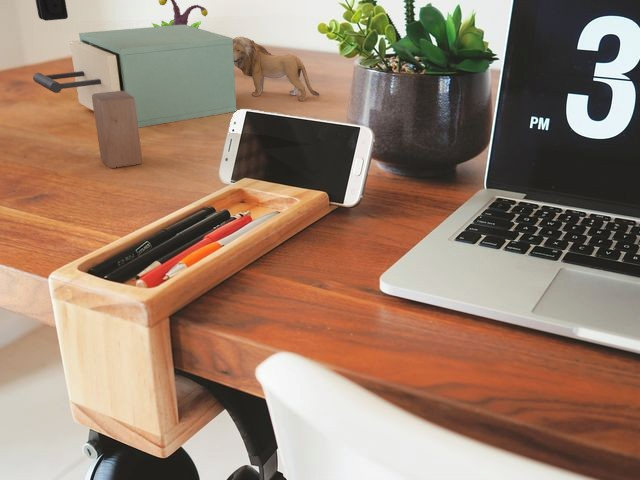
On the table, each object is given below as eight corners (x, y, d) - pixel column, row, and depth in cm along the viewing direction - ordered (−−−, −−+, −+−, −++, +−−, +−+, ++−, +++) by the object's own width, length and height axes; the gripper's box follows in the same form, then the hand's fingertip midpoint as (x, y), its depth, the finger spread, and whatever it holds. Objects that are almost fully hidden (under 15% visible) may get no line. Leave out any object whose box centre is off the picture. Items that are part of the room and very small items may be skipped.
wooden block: (109, 169, 83) (99, 100, 80) (100, 160, 86) (90, 93, 83) (143, 164, 85) (135, 97, 82) (133, 155, 88) (125, 89, 85)
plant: (122, 47, 151) (115, -10, 145) (214, 43, 158) (211, -12, 153) (138, 66, 135) (130, 2, 129) (240, 60, 142) (237, 0, 137)
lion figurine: (226, 96, 116) (223, 38, 112) (236, 89, 121) (233, 33, 116) (316, 102, 114) (315, 43, 110) (322, 94, 119) (322, 38, 115)
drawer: (66, 131, 93) (54, 61, 89) (32, 109, 102) (19, 45, 98) (217, 107, 106) (213, 45, 102) (175, 89, 115) (170, 32, 111)
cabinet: (130, 129, 98) (120, 48, 93) (89, 106, 108) (78, 32, 103) (236, 111, 108) (232, 38, 103) (190, 92, 118) (184, 24, 113)
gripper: (-28, -144, 88) (5, 14, 96) (10, -149, 78) (43, 29, 86) (36, -142, 92) (62, 10, 101) (79, -145, 82) (104, 23, 91)
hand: (53, 18), depth 93 cm, fingers closed
